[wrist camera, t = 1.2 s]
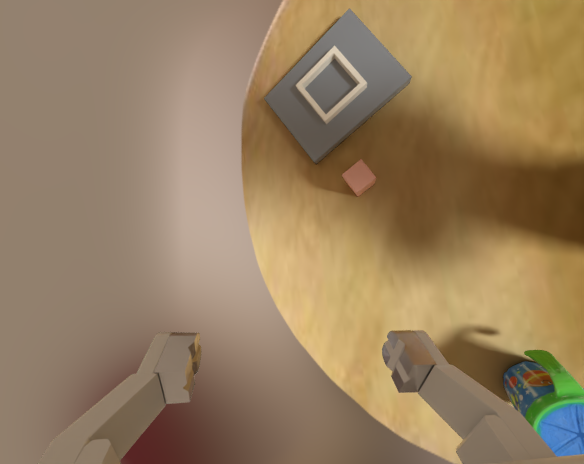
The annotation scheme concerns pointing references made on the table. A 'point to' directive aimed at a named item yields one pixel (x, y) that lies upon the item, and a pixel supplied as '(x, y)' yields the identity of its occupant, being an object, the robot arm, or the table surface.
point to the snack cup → (548, 401)
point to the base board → (337, 86)
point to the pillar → (359, 177)
